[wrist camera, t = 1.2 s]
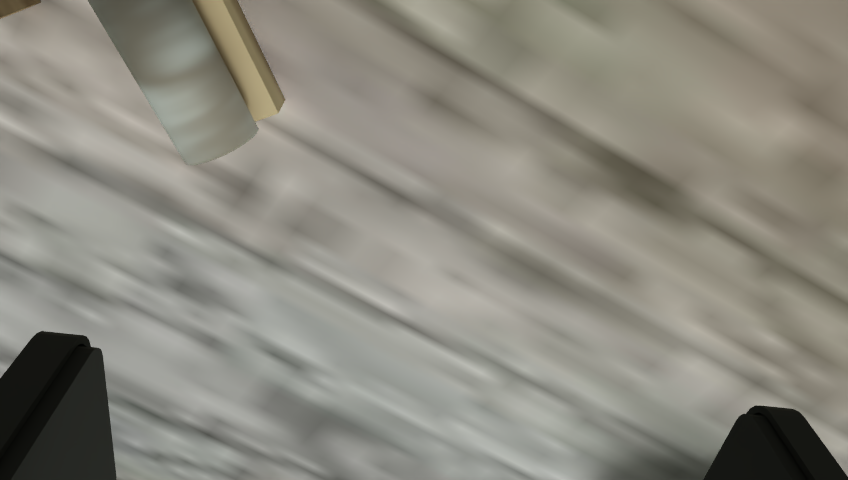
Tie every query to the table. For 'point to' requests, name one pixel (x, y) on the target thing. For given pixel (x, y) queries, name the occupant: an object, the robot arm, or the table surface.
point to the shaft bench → (191, 69)
